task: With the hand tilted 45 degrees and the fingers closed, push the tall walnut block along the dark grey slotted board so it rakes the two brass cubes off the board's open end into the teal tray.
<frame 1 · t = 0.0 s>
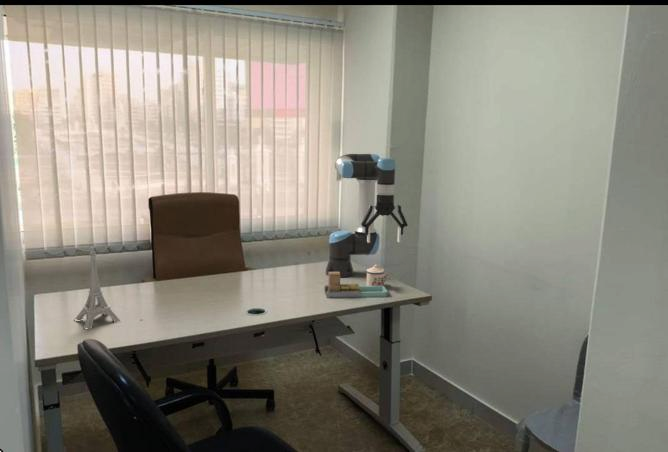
hand: (383, 242, 219), 28 cm above the table, tool pointing down, fingers open, 13 cm apart
slot board: (342, 295, 233), on the table
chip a: (344, 293, 233), point 1 cm above the table, touching slot board
chip b: (354, 293, 233), point 1 cm above the table, touching slot board
eiffel tower: (97, 321, 197), on the table
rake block: (334, 293, 232), point 1 cm above the table, touching slot board
tray: (372, 295, 235), on the table
teacup with lid: (377, 288, 247), on the table
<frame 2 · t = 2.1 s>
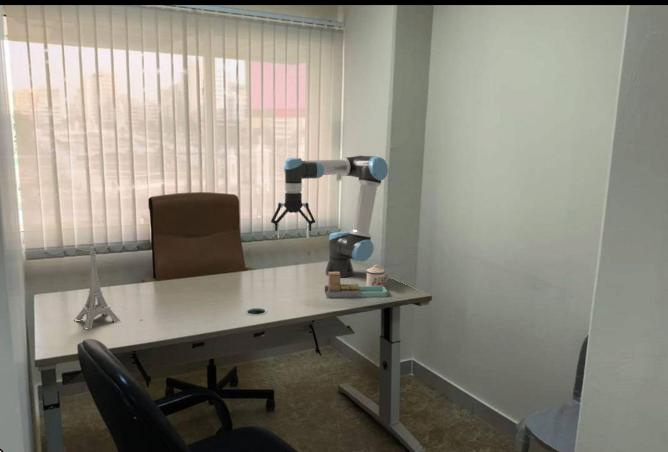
hand: (293, 238, 230), 27 cm above the table, tool pointing down, fingers open, 13 cm apart
nothing on the table moved.
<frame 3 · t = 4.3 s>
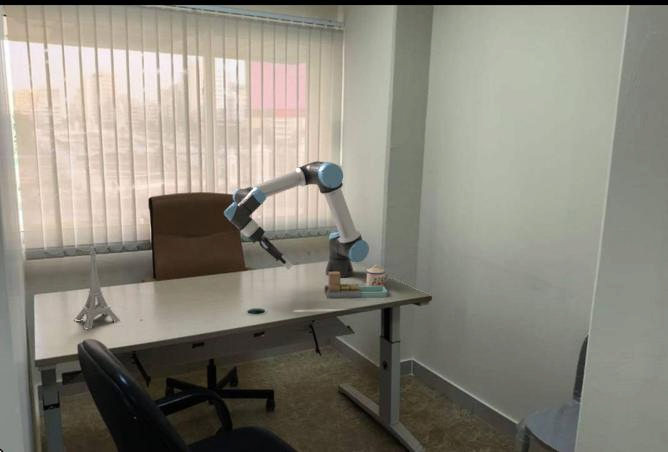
hand: (290, 267, 228), 14 cm above the table, tool tilted 45°, fingers closed
nothing on the table moved.
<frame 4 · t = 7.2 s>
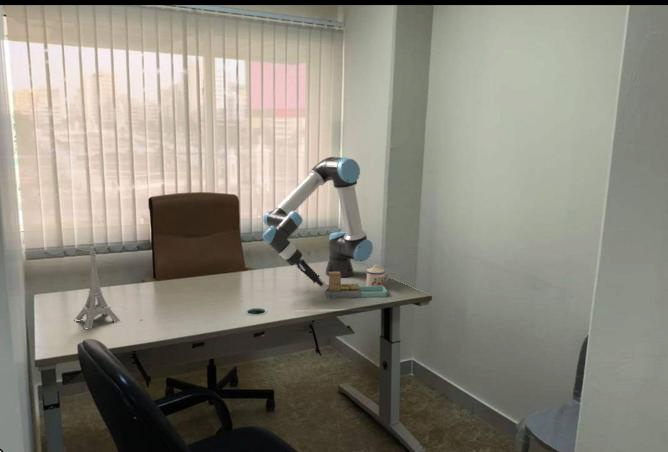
hand: (326, 289, 231), 4 cm above the table, tool tilted 45°, fingers closed
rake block: (334, 293, 232), point 1 cm above the table, touching gripper
everything else where it was.
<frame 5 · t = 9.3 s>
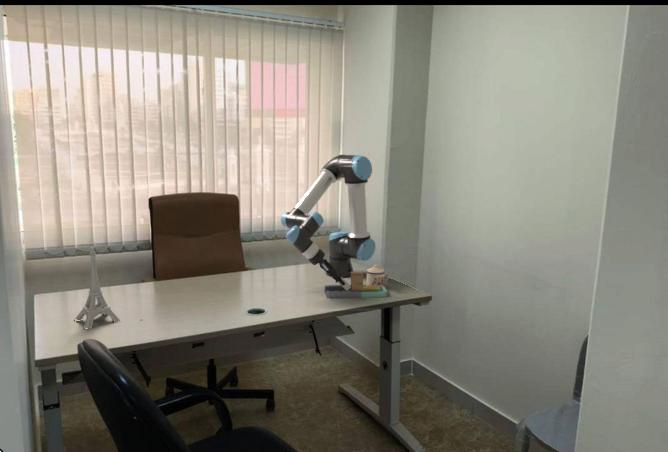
hand: (348, 288, 233), 4 cm above the table, tool tilted 45°, fingers closed
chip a: (365, 294, 234), resting on tray, touching chip b, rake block
chip b: (374, 294, 235), resting on tray, touching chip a
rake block: (356, 293, 234), point 1 cm above the table, touching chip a
everything else where it was.
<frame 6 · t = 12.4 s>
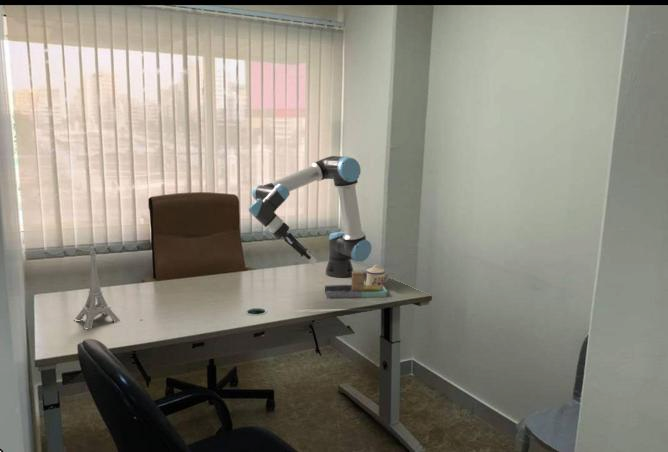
hand: (314, 262, 229), 16 cm above the table, tool tilted 45°, fingers closed
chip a: (366, 294, 234), resting on tray
chip b: (375, 294, 235), resting on tray
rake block: (357, 293, 234), point 1 cm above the table, touching slot board
everything else where it was.
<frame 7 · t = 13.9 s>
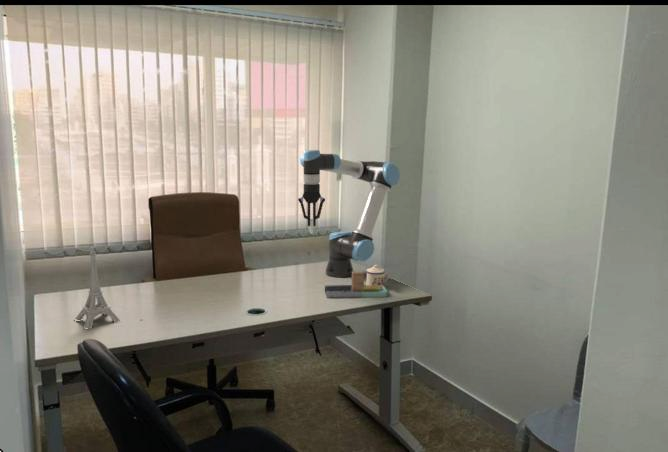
hand: (311, 232, 236), 28 cm above the table, tool pointing down, fingers closed
nothing on the table moved.
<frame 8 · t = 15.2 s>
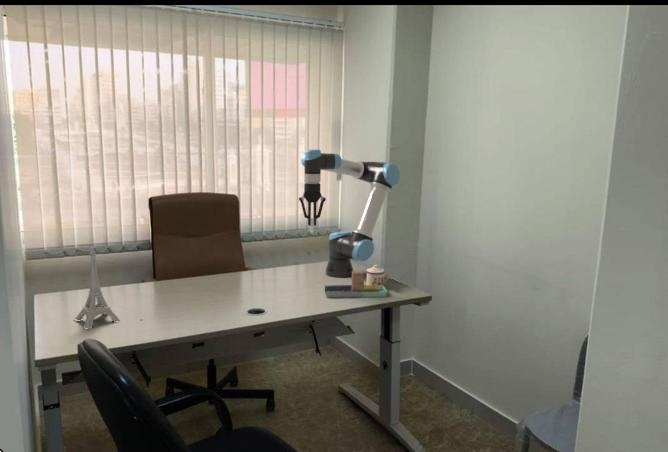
hand: (311, 232, 236), 28 cm above the table, tool pointing down, fingers closed
nothing on the table moved.
at the end: chip b inside the target area (1.3 cm from its centre), resting on tray; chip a inside the target area (2.8 cm from its centre), resting on tray; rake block moved 11.0 cm from its start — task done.
